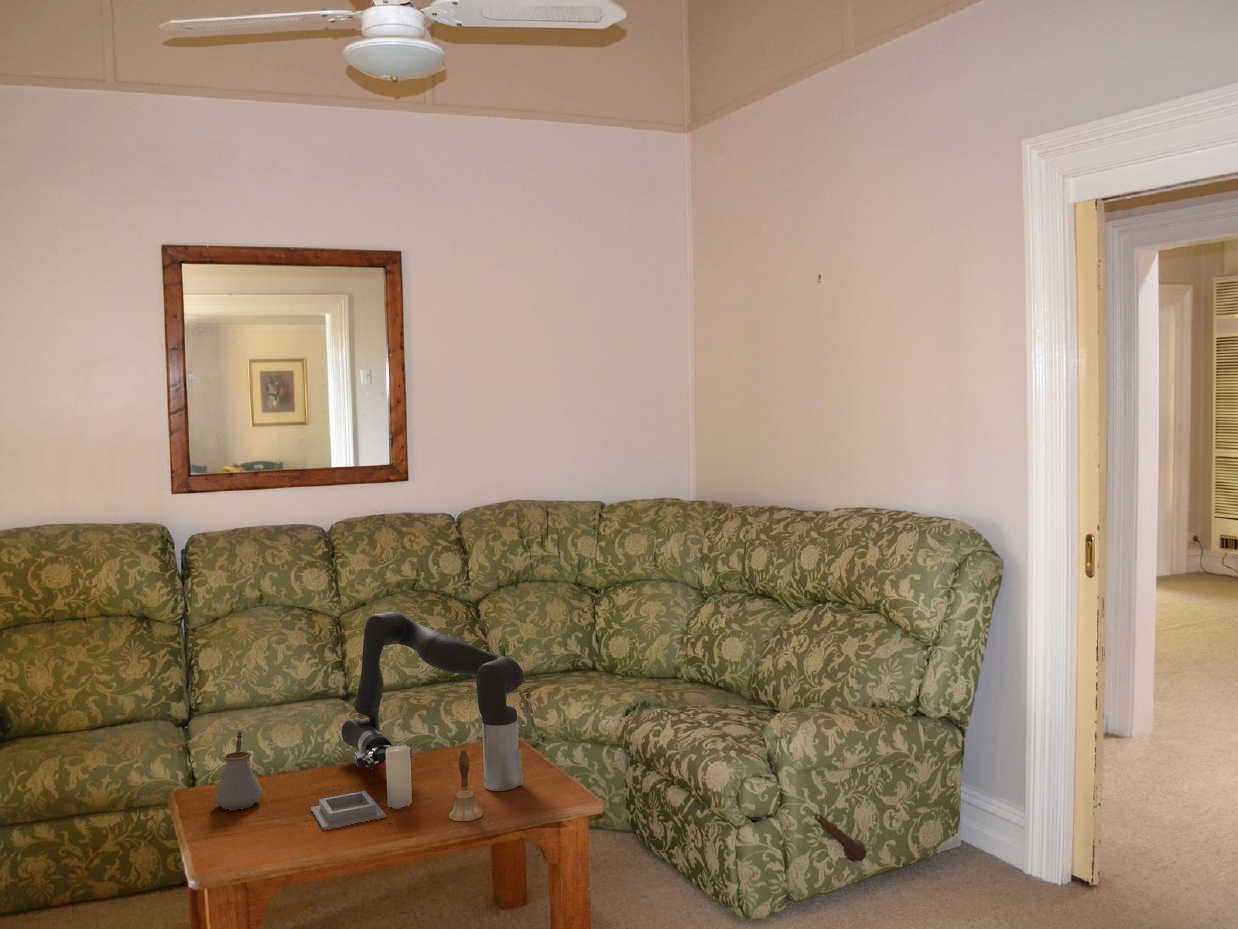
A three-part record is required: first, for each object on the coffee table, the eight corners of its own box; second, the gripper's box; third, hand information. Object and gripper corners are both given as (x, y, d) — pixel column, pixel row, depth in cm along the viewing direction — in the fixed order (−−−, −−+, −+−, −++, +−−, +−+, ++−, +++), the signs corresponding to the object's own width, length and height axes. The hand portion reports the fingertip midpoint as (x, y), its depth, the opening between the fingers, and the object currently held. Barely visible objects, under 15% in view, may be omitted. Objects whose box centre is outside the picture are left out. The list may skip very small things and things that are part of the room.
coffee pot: (261, 810, 264) (259, 751, 264) (212, 816, 261) (210, 756, 260) (265, 782, 285) (262, 727, 284) (219, 787, 282) (217, 732, 281)
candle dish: (370, 799, 270) (370, 787, 270) (385, 818, 256) (385, 805, 256) (311, 810, 263) (310, 798, 263) (323, 830, 250) (322, 818, 249)
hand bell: (444, 813, 259) (442, 749, 258) (477, 806, 262) (474, 743, 262) (454, 824, 251) (451, 758, 251) (487, 818, 255) (485, 753, 254)
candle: (408, 798, 270) (406, 744, 269) (414, 805, 264) (412, 750, 264) (385, 802, 267) (382, 748, 266) (391, 810, 262) (389, 754, 261)
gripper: (347, 737, 284) (361, 753, 270) (399, 729, 291) (416, 744, 276) (348, 764, 284) (363, 782, 270) (400, 755, 291) (417, 772, 276)
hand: (389, 763), depth 273 cm, fingers open, 8 cm apart
